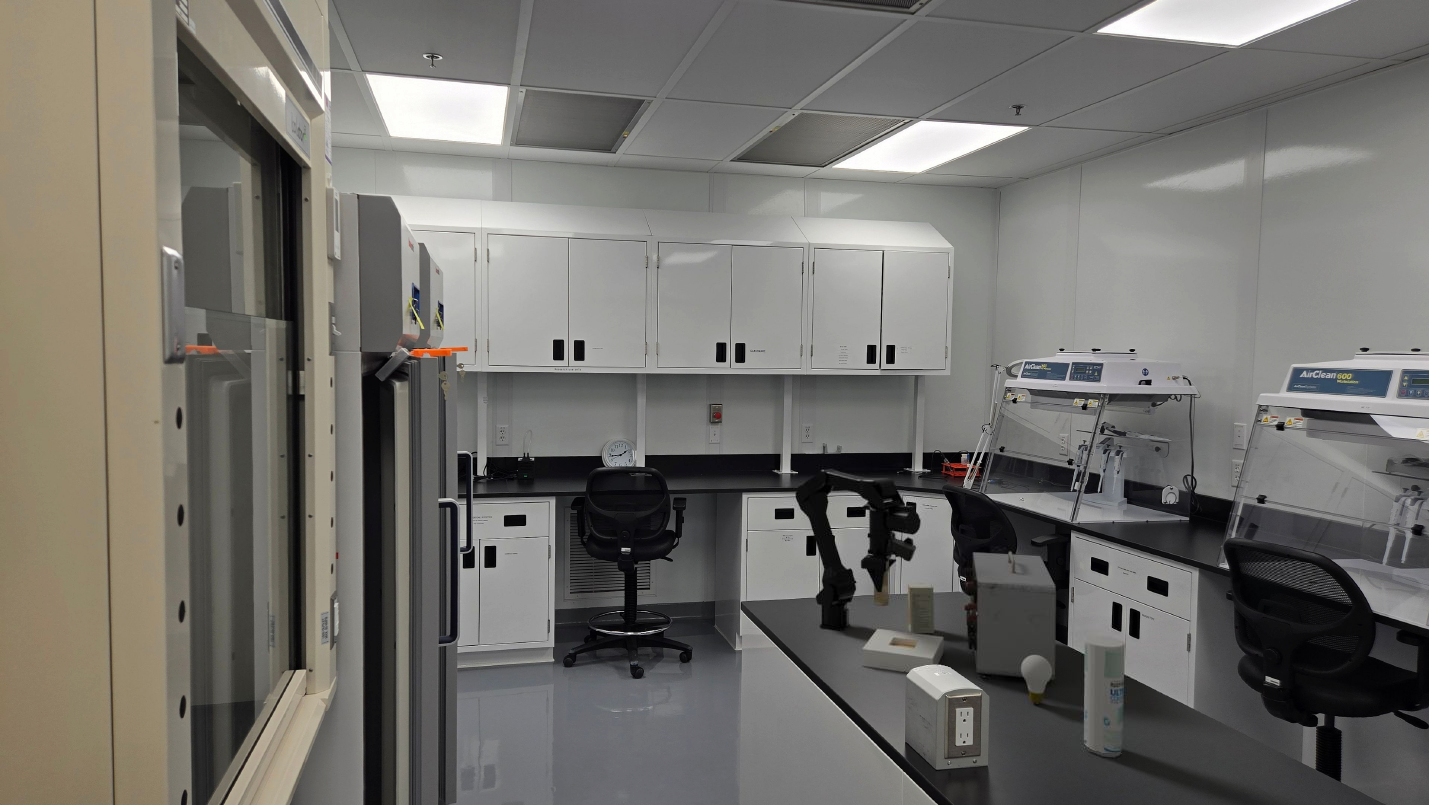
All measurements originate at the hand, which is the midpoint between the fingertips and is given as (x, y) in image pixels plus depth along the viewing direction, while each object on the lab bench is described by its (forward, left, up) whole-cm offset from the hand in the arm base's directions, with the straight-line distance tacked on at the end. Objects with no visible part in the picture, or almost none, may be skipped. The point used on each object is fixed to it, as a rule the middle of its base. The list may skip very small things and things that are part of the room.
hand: (881, 590), depth 206 cm
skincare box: (+8, +13, -14) cm, 20 cm away
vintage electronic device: (+30, 0, -14) cm, 33 cm away
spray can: (+50, -42, -13) cm, 67 cm away
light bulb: (+38, -25, -13) cm, 47 cm away
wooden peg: (0, 0, -4) cm, 4 cm away
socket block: (+8, -10, -13) cm, 18 cm away
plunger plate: (+8, -10, -11) cm, 17 cm away
